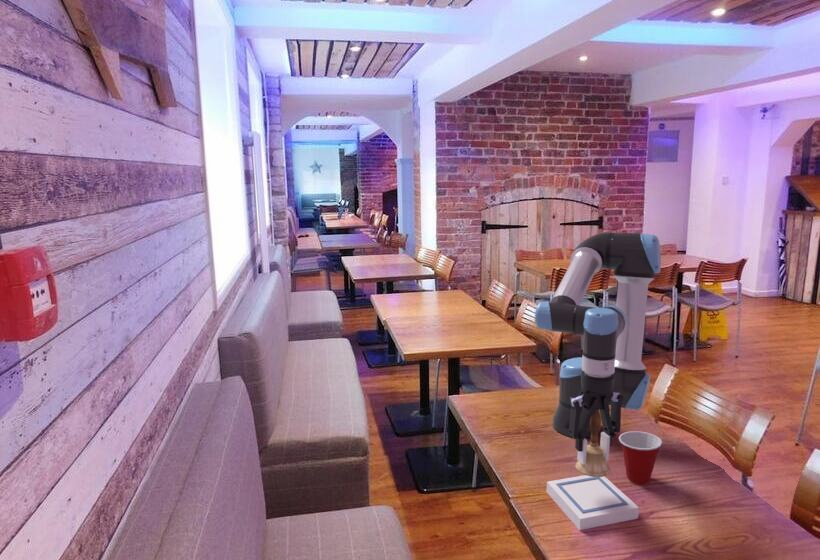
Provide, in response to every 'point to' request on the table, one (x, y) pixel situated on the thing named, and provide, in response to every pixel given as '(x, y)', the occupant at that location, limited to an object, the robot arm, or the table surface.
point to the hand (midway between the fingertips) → (592, 459)
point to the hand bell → (594, 452)
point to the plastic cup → (639, 455)
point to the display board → (591, 501)
